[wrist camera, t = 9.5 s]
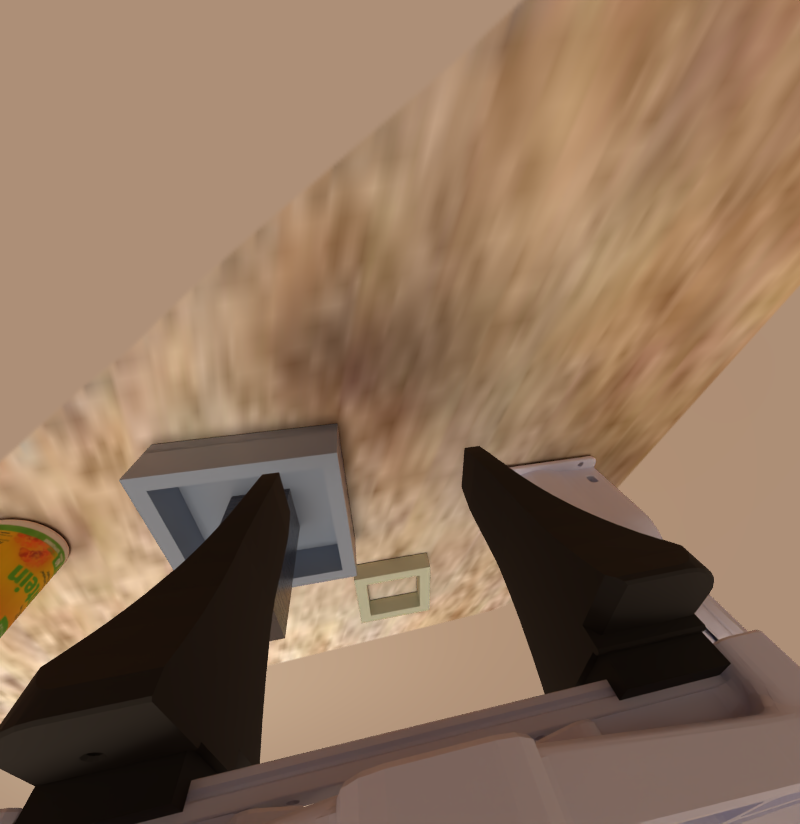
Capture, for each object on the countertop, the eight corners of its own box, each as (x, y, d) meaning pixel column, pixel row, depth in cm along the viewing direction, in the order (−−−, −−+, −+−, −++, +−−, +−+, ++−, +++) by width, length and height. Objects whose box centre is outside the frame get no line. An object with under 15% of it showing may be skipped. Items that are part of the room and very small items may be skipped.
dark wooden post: (289, 488, 23) (268, 596, 16) (300, 526, 25) (284, 638, 18) (231, 496, 22) (183, 611, 15) (246, 535, 24) (210, 652, 17)
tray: (337, 423, 22) (336, 452, 19) (355, 539, 28) (356, 575, 25) (151, 444, 21) (118, 480, 18) (211, 562, 26) (194, 604, 23)
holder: (426, 552, 30) (430, 566, 29) (426, 595, 34) (429, 610, 33) (353, 565, 30) (354, 580, 28) (360, 608, 33) (361, 623, 32)
